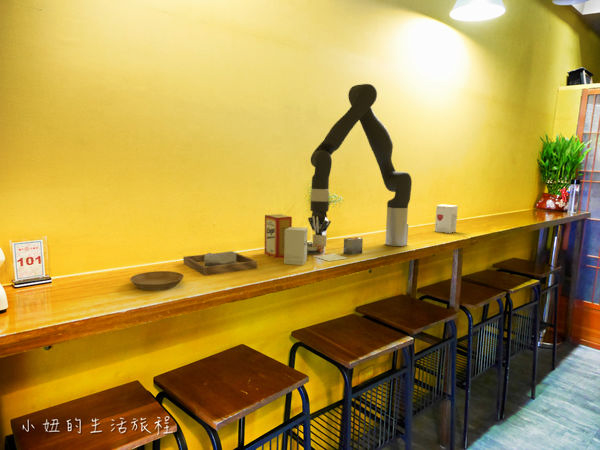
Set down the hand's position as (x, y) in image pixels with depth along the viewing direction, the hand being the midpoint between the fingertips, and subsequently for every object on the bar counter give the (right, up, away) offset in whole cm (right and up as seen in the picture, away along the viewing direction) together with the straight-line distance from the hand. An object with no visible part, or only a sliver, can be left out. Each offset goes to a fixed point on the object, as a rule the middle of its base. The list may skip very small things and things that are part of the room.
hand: (318, 241), depth 175 cm
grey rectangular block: (+14, -5, -3) cm, 15 cm away
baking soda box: (-17, -5, -10) cm, 20 cm away
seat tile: (+4, -6, -12) cm, 14 cm away
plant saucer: (-49, -11, -53) cm, 73 cm away
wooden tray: (-36, -8, -29) cm, 47 cm away
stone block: (-36, -8, -27) cm, 46 cm away
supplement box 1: (-9, -7, -22) cm, 25 cm away
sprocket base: (-4, -4, -1) cm, 6 cm away
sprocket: (-4, -4, -1) cm, 6 cm away
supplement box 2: (+74, +3, +60) cm, 95 cm away
